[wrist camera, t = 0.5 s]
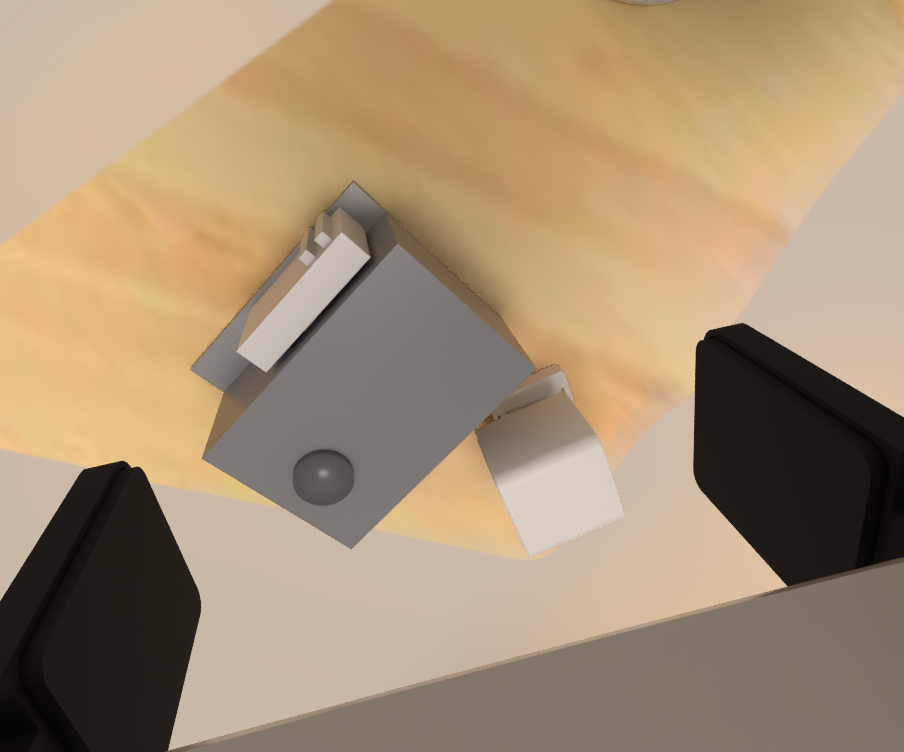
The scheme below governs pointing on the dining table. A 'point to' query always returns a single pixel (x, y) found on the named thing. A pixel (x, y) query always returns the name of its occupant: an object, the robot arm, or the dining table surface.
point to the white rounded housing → (548, 464)
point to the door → (304, 287)
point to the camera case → (362, 385)
